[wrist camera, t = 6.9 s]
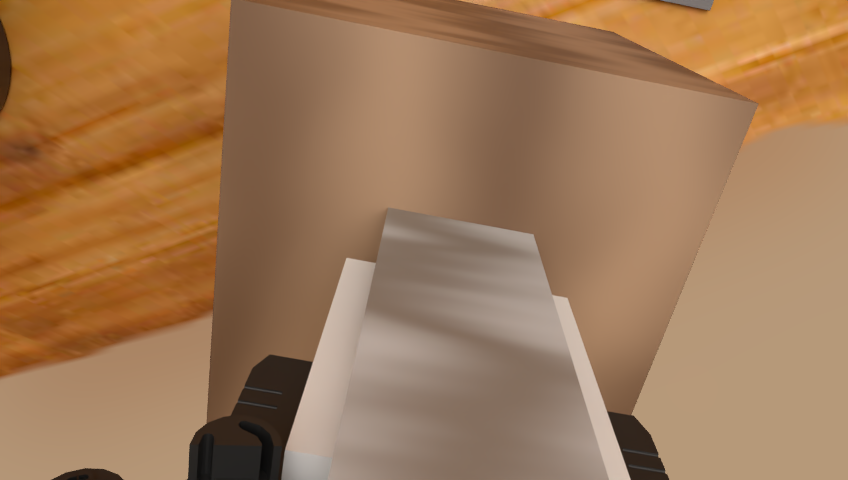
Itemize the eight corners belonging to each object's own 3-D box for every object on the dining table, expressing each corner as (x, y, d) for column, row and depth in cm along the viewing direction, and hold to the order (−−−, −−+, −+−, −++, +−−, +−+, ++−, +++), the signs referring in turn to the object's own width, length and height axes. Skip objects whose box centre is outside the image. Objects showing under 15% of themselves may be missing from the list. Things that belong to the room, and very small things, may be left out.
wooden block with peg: (302, 234, 34) (-68, 969, 10) (333, -26, 29) (-337, 125, 4) (539, 277, 35) (767, 1072, 10) (613, 32, 29) (1474, 456, 5)
